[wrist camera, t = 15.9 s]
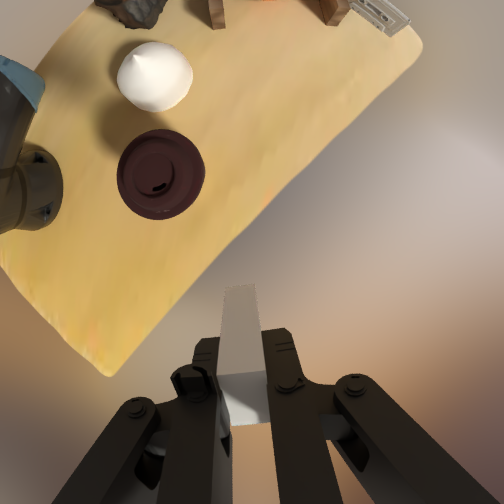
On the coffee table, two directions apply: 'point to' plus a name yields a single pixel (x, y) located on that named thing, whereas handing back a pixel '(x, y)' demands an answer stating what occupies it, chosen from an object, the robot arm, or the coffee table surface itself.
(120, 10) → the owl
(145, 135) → the coffee cup
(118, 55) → the coffee table surface
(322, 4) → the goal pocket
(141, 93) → the teardrop
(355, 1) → the cassette
